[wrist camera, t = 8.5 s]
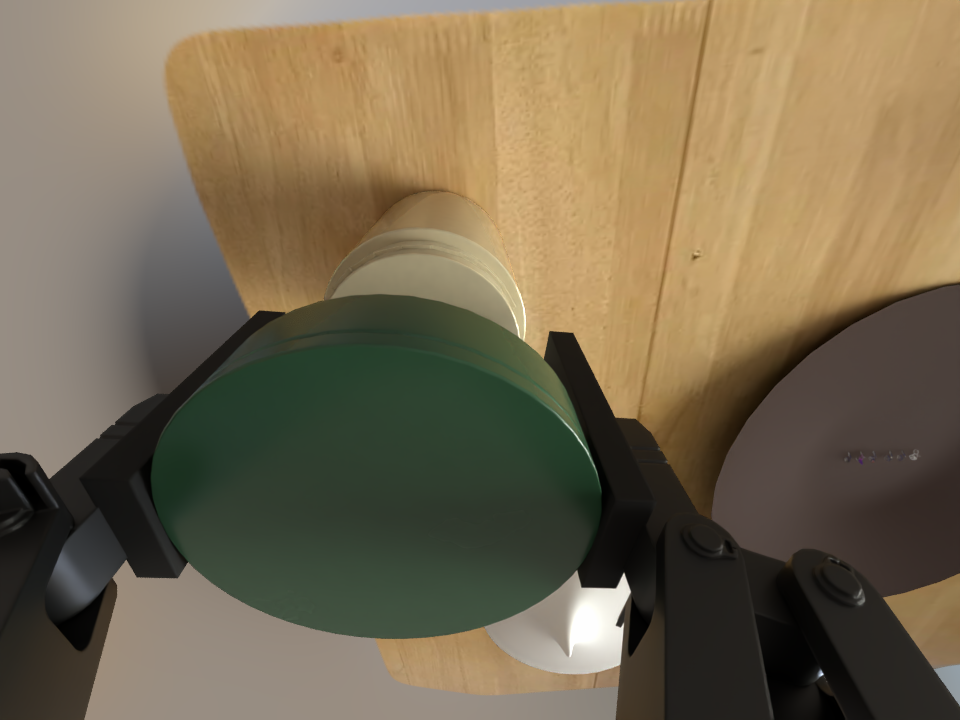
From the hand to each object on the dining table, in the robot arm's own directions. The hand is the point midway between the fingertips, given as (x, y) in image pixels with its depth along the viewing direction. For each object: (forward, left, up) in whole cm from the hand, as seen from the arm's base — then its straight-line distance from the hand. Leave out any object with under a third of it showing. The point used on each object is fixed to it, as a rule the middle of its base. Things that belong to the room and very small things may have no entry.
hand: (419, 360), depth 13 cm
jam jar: (0, 0, -11) cm, 11 cm away
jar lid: (0, 0, +6) cm, 6 cm away
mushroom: (+16, +12, -11) cm, 23 cm away
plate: (+6, +36, -11) cm, 38 cm away
